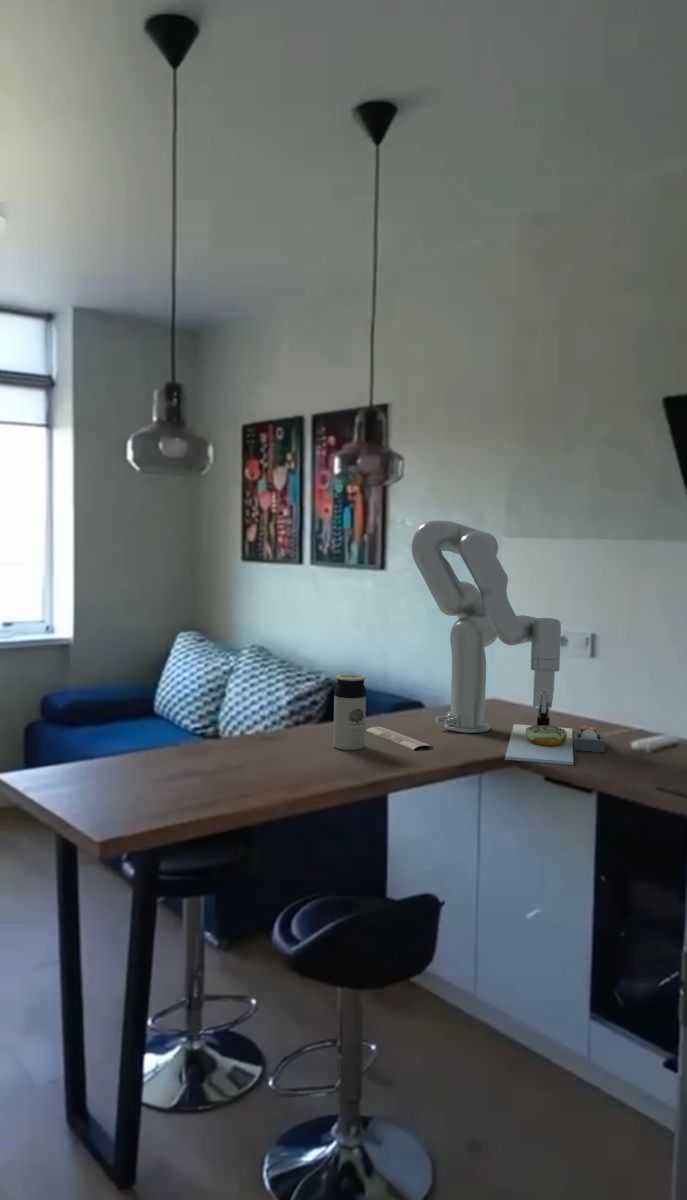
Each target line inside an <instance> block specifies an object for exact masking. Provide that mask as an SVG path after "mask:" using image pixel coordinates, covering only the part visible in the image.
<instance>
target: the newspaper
mask: <svg viewBox="0 0 687 1200" xmlns="http://www.w3.org/2000/svg"><path fill="white" fill-rule="evenodd" d="M366 732H367V733H369V734H371V735H373V736H375V737H379V738H381V739H384V740H386V741H389V742H390V743H391V742H392V743H393V744H397V745H399V746H401V747H403V748H406V749H408V750H410V751H411V750H412V751H413V752H414V751H415V749H417V748H419V747H427V748H428V749H434V746H433V745H430V744H428V743H425V742H422V741H420V740H417V739H414V738H412V737H409V736H406V735H404V734H401V733H399V732H396V731H393V730H392V729H388V728H385V727H382V726H371V727H369V728H367V729H365V733H366Z"/></svg>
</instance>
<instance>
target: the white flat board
mask: <svg viewBox="0 0 687 1200" xmlns="http://www.w3.org/2000/svg"><path fill="white" fill-rule="evenodd" d="M531 726H532V725H529V724H528V725H527V724H518V723H517V724H515V723H514V724H513V726H512V730H511V734H510V737H509V742H508V745H507V749H506V753H505V757H504V760H506V761H515V762H516V761H518V762H531V763H541V764H542V763H544V764H554V765H555V764H556V765H565V766H566V765H567V766H574V750H573V728H569V727H558V726H557V727H558V728H561V729H563V730H565V731H566V732H567V738H566V740H565V742H564V743H562V744H561V745H554V746H547V745H540V744H535V743H533V742H530V741H529V740H528V738H527V736H526V728H528V727H531Z"/></svg>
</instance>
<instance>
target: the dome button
mask: <svg viewBox="0 0 687 1200" xmlns="http://www.w3.org/2000/svg"><path fill="white" fill-rule="evenodd" d="M596 734H597V732H596V733H595V732H594V731H593V730H591V729H587V730H584V731H583V732H582V734H581V737H580V738H582V739H595V740H598V738H597V735H596Z"/></svg>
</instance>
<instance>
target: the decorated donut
mask: <svg viewBox="0 0 687 1200" xmlns="http://www.w3.org/2000/svg"><path fill="white" fill-rule="evenodd" d="M561 728H562V727H559V728H558V726H554V725H550V724H549V725H537V724H535V725H531V727H528V728H526V736H527V738H528V740H529V741H530V742H533V743H535V744H540V745H547V746H554V745H561V744H562V743H564V742H565V740H566V738H567V732H566V731H565V730H563V729H561Z"/></svg>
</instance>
